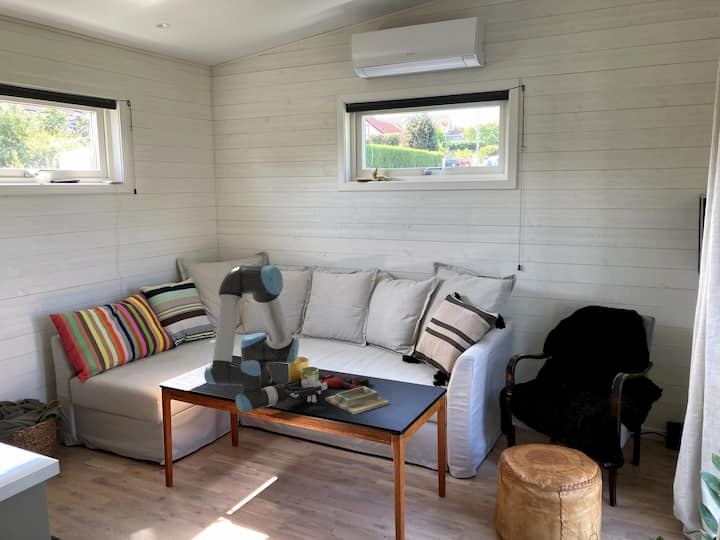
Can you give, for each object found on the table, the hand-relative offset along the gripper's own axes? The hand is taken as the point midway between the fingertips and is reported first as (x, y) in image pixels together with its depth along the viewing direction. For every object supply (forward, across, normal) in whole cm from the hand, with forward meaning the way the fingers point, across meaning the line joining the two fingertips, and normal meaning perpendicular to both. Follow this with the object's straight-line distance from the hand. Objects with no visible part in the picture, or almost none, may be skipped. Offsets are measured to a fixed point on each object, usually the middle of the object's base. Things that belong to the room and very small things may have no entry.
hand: (320, 382), depth 252 cm
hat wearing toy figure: (-5, 0, -7) cm, 9 cm away
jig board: (+9, +13, -7) cm, 17 cm away
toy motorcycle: (+15, -8, -8) cm, 19 cm away
